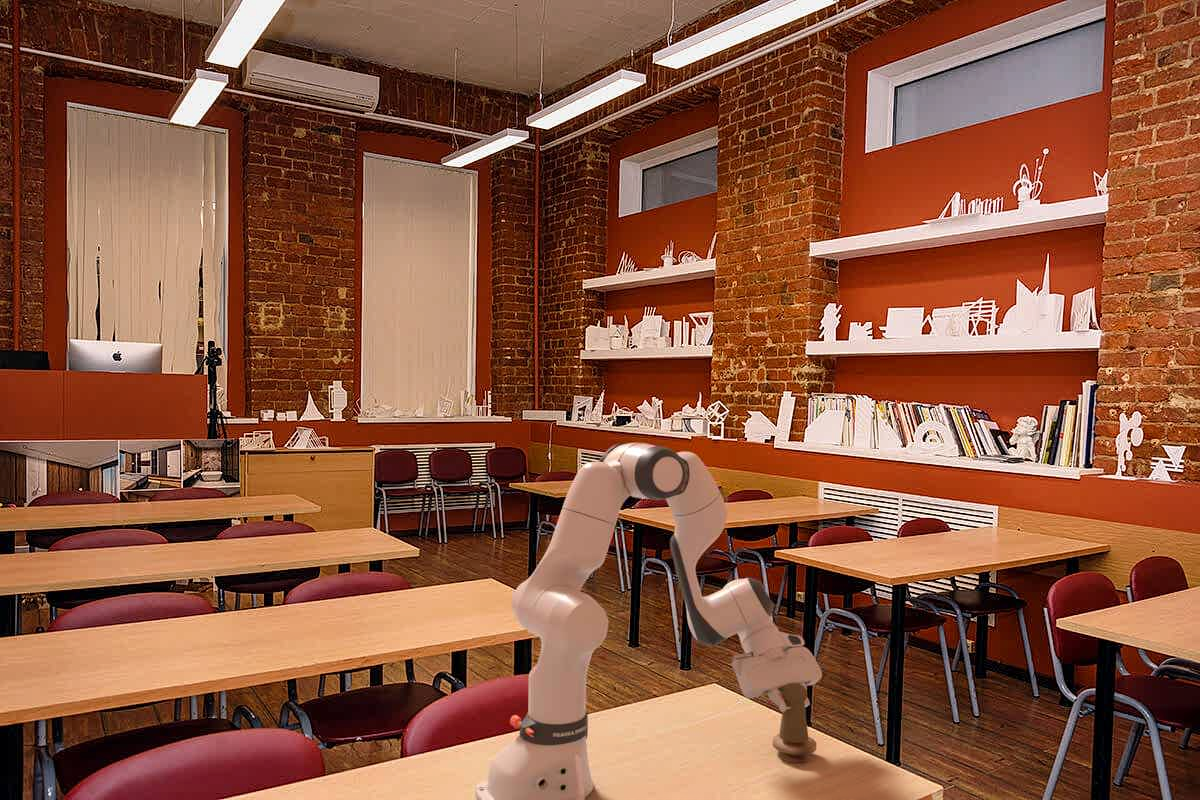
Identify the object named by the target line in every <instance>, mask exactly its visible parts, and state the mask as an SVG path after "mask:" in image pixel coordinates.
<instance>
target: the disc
mask: <svg viewBox="0 0 1200 800" xmlns="http://www.w3.org/2000/svg"><path fill="white" fill-rule="evenodd" d="M808 738H809V739H808V741H806V742H803V743H791V742H787V741H784V740H782V739H781V738H780V737H779V733H778V734H775V736H773V737H772V747H773V748H775V749H776V750H777V751H776V754H777V755H776V756H777V758H779V760H781V761H783V762H786V763H789V764H806V763H808V762H810V761H812V753H815V751H816V750H817V742H816V740H815V739H814V738H812V737H810V736H808Z"/></svg>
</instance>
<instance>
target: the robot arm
mask: <svg viewBox="0 0 1200 800" xmlns="http://www.w3.org/2000/svg"><path fill="white" fill-rule="evenodd" d="M630 496H631V497H632V498H636V499H643V500H644V499H645V500H652V501H660V500H661V501H662V500H665V501H666V503H667V505H668V507H669V509H670V511H671V514H672V516H673V519H674V532H673V535H672V536H671V538H670V540H669V547H670V553H671V557H672V561H673V566H674V569H675V573H676V576H677V580H678V584H679V587H680V590H681V594H682V598H683V603H684V606H685V609H686V618H687V624H688V628H689V630H690V632H691V635H692V637H694V639H695V640H696V642H697V643H699V644H702V645H706V646H710V647H716V646H718V645H719V644H721V643H722V642H724V641H725V640H727V639H729V638H730V637H732V636H734V635H736V634H737V635H738V637H739V640H740V645H741V647H742V649H743V651H744V653H742V654H738V653H737V654H735V655H734V656H733V658H732V659H731V665H732V669H733V670H734V672H735V676H736V680H737V682H738V685H739V688H740V690H741V693H742V694H743V696H744V697H745V698H747V699H753V698H757V697H758V698H759V697H762V696H767V697H768V698H769V700H771V702H773V703H774V704H775V705H776V706H778V708H779V710H780V712H781V714H782V713H783V712H787V711H789V710H790V709H791V706H790V705H789V703H788V702H787V701H784V699H783V697H781V695H779V694H780V693H782V688H783V687H784V686H785V685H786V684H790V683H796V684H800V685H802V686H804V687H805V688H806V690H807V691H808V686H813V685H815V684H817V683H818V682H819V681H820V680H821V679H822V677H823V676H822V675H823V672H822V668H821V667H820V665H819V664H818V662H817V659H815V657H814V655H813V653H812V652H811V650H809V649H808V648H807V647H805V646H804V645H805V640H804V638H803V637H802V636H800V635H796V634H790V633H787V632H783V631H780V630H779V628H778V627H777V625H776V624H775V623H774V622H773V621H772V619H771V616H772V615H773V612H774V607H775V604H774V602H773V600H772V599H771V597H769V595H768V594H767V591H766V589H765V585H764V583H763V582H762V581H760V580H759V579H756V578H753V577H746V578H738V579H734V580H732V581H730V582H728V583H726V584H725V585H724V587H722V589H720V590H718V591H716V592H714V593H711V594H709V595H706V596H703V595H702V592H701V587H700V583H699V581H698V577H697V573H696V566H697V563H698V561H699V559H700V558H701V556H703V554H704V553H705V552H706V550H707V549H709V547H710V546H711V545H712V544H713V543H714V542H715V541H716V540H717V539H718V538H719V537H720V535H721V534H722V532H723V530H724V528H725V527H726V524H727V520H728V509H727V506H726V503H725V500H724V498H723V495H722V493H721V491H720V488H719V486H718V485H717V483H716V481H715V479H714V478H713V475H712V473H710V471H709V470H708V468H707V466H706V465H705V463H704V462H703V461H702V460H701V458H700V457H699V456H698V455H697V454H696V453H694V452H691V451H679V452H675V450H673V449H670V448H668V447H665V446H663V445H654V444H649V443H646V442H620V443H617V444H614V445H613V446H611V447H609V448H608V449H607V450H606V451H605V452H604V453H603V454H602V456H601V458H600V459H599V460H598V461H591V462H590V461H589V462H586V463H584V464H583V465H582V466H581V467H580V468H579V470H578V472H577V473H576V475H575V477H574V479H573V480H572V482H571V485H570V488H569V490H568V492H567V494H566V496H565V499H564V502H563V505H562V508H561V511H560V514H559V517H558V519H557V523H556V524H555V525H556V526H555V528H554V531H553V533H552V536H551V537H552V538H551V540H550V542H549V545H548V547H547V549H546V550H545V553H544V555H543V557H542V558H541V560H540V561H539V563H538V565H537V566H536V568H535V569H534V571H533V572H532V573H531V575H530V576H529V577H528V579H526V580H524V581H523V582H521V583H520V584H518V586H517V588H516V589H515V591H514V592H513V594H512V598H511V611H512V613H513V616H514V618H515V619H516V620H517V621H518V622H519V624H520V625H521V626H522V627H523V628H524V629H525V630H526V631H527V632H529V633H531V634H533V635H534V636H537V637H539V639H540V641H541V642H540V644H541V646H540V647H541V648H540V653H539V657H538V660H537V662H536V663H537V664H536V665H534V666H533V667H532V668H531V670H530V671H529V674H528V702H527V703H528V706H527V707H528V711H527V713H526V714H525V717H524V718H523V719H522V718H521V717H520V716H518V715H517V714H515V715H512V716H510V717H511V718H510V719H509V724H510V725H511V726H512V727H514V729H516V730H517V729H519V734H518V735H517V736H516V737H515V738H514V739H512V741H510V742H509V743H508V744H507V745H506V746H505V747H504V748H503V749H501V750H500V752H498V753H497V754H496V755H495V756H494V757H493V758H492V760H491V761H490V764H489V768H488V776H487V779H485V780H482V781H480V782H477V785H476V788H475V796H476V799H477V800H586V797H588V795H590V794H591V793H592V791H593V790H594V781H593V778H592V774H591V771H590V765H589V758H588V749H587V739H588V734H589V733H588V732H589V727H588V726H589V719H588V717H589V716H588V715H589V714H588V712H587V711H586V709H587V708H586V703H587V701H586V700H587V677H588V670H589V667H590V663H591V662H590V661H591V658H592V655H593V653H594V651H595V650H596V649H597V648H599V647H600V646H601V644H602V643H603V642H604V640H605V639H606V637H607V633H608V630H609V618H608V614H607V612H606V610H605V608H603V606H601V605H600V603H599V602H597V601H596V600H595V599H594V598H593V596H591V595H589V594H587V593H585V592H583V591H581V589H582V587H583V585H584V584H585V583H586V581H587V580H588V578H589V577H590V576H591V574H592V573H593V572H594V571H596V570H598V569H599V568H601V566H603V564H604V562H605V560H606V557H607V554H608V551H609V547H610V545H611V541H612V538H613V536H614V535H613V534H614V531H615V528H616V525H617V522H618V518H619V514H620V510H621V509H622V506H623V504H624V503H625V501H626V500H627V499H628V498H630ZM804 704H805V708H807V707H808V706H810V705H811V703H810V700H809V697H807V698H806V700H805V702H804Z"/></svg>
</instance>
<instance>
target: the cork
mask: <svg viewBox="0 0 1200 800" xmlns="http://www.w3.org/2000/svg"><path fill="white" fill-rule="evenodd" d="M807 691H808V689H807V690H806V688H805V687H804V686H802V685H800V684H796V683H790V684H786V685H785V686H784V687H783V688H782V692H781V696H782V697H781V698H782V699H783V700H784V701H787V702H788V703H789V705H790V706H791V709H790V710H789V711H787V712H783V713H782V712H781V721H780V727H779V733H778V734H779V737H780V738H781V739H782V740H784V741H787V742H791V743H803V742H806V741H808V739H809V738H808V737H809V732H808V723H807V713H806V707H805V704H804V702H805V700H806V698H808V692H807Z"/></svg>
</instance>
